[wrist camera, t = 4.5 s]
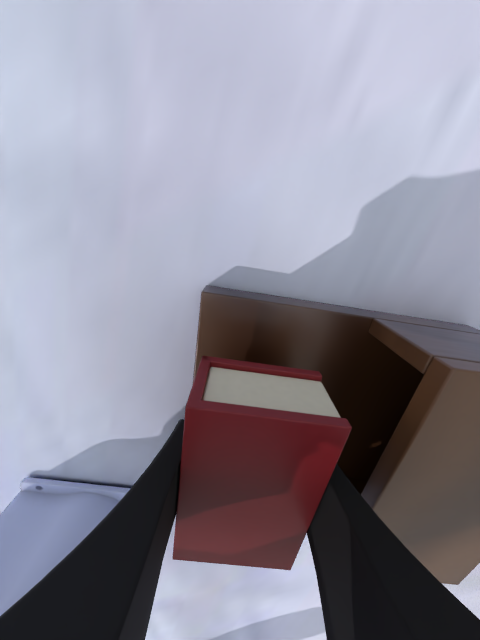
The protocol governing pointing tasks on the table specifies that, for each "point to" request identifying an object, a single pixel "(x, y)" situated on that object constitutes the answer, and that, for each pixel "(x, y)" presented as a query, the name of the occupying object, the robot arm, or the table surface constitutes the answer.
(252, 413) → the red hardcover book
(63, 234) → the table surface
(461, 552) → the book rack
